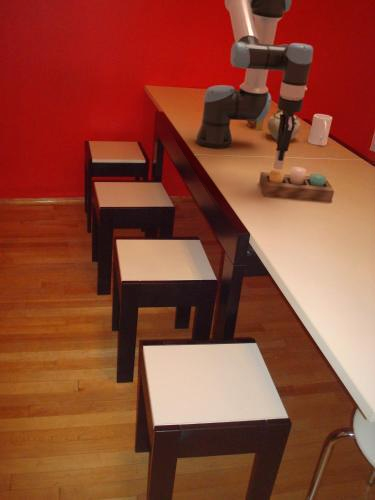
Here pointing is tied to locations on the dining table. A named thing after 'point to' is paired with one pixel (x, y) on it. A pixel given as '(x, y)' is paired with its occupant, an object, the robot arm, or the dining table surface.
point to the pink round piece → (297, 175)
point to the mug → (320, 129)
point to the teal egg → (317, 180)
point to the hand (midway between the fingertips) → (277, 168)
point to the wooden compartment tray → (295, 189)
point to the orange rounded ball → (276, 176)
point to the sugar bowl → (274, 125)
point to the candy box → (256, 124)
